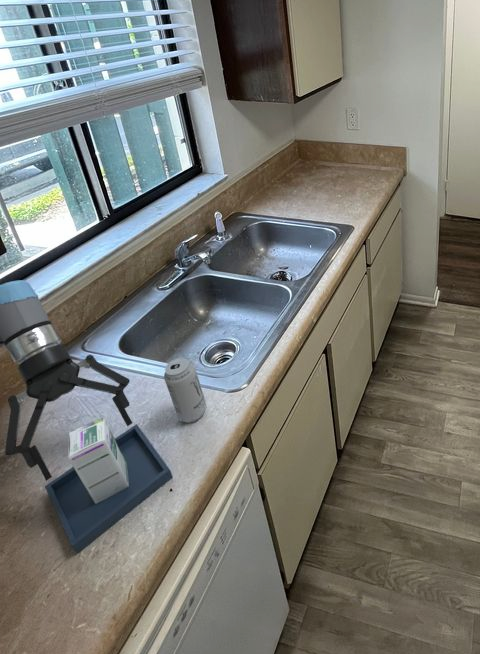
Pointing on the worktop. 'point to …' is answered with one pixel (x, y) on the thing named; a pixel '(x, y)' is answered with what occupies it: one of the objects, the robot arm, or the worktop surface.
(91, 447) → the syrup box
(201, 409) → the energy drink can
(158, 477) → the tray
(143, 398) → the worktop surface
